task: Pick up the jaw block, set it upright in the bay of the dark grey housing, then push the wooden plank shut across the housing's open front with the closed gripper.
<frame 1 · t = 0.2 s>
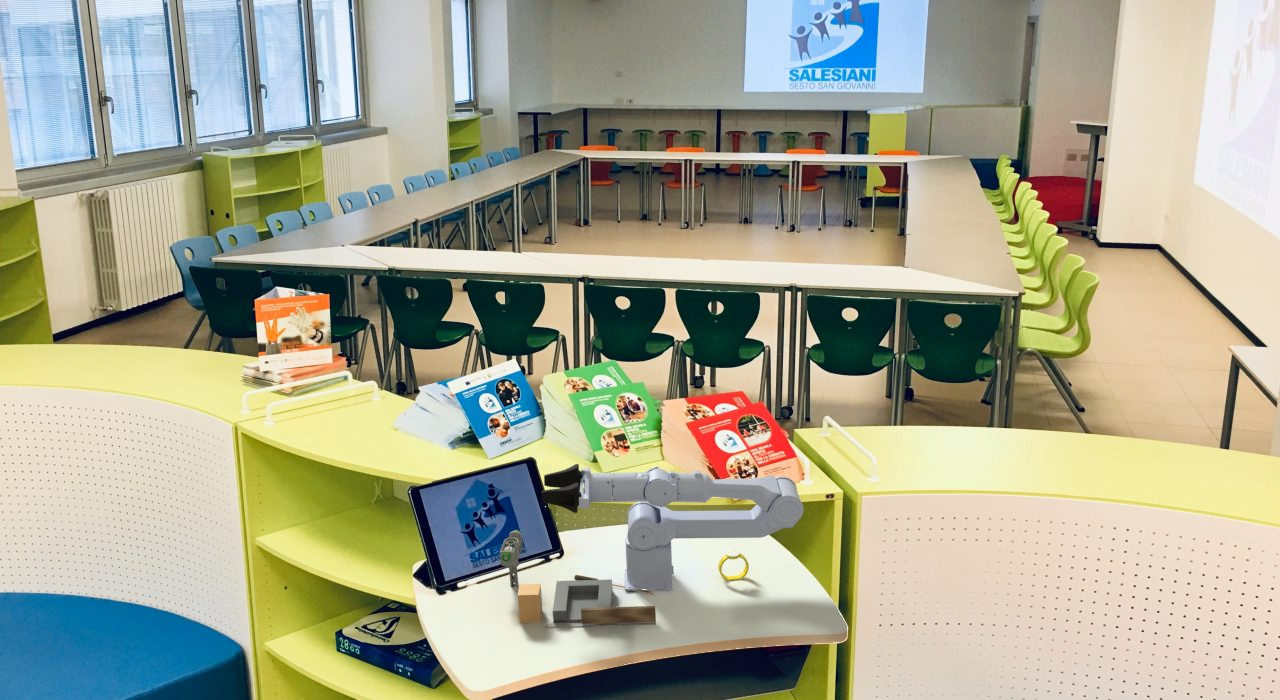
hand: (542, 488, 214), 21 cm above the table, tool horizontal, fingers open, 7 cm apart
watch: (733, 579, 221), on the table
wooden plank: (618, 615, 206), point 2 cm above the table, slide at 7.0 cm
housing: (583, 606, 213), on the table
mechanical component: (514, 585, 221), on the table
jaw block: (531, 616, 210), on the table
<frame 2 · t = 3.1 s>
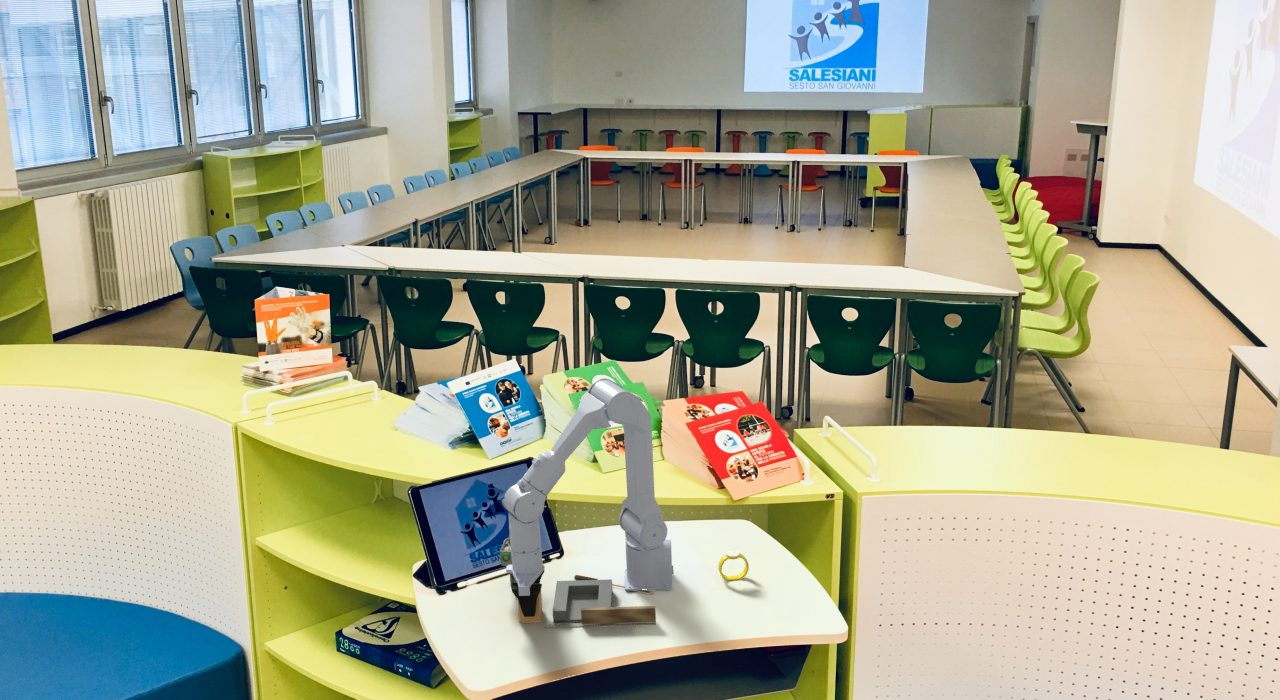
hand: (530, 609, 210), 2 cm above the table, tool pointing down, fingers closed on jaw block, 4 cm apart
jaw block: (531, 616, 210), on the table, touching gripper
everything else where it was.
when the fingers open (4 cm above the table, at t = 6.2 s): jaw block drops 1 cm, resting on housing.
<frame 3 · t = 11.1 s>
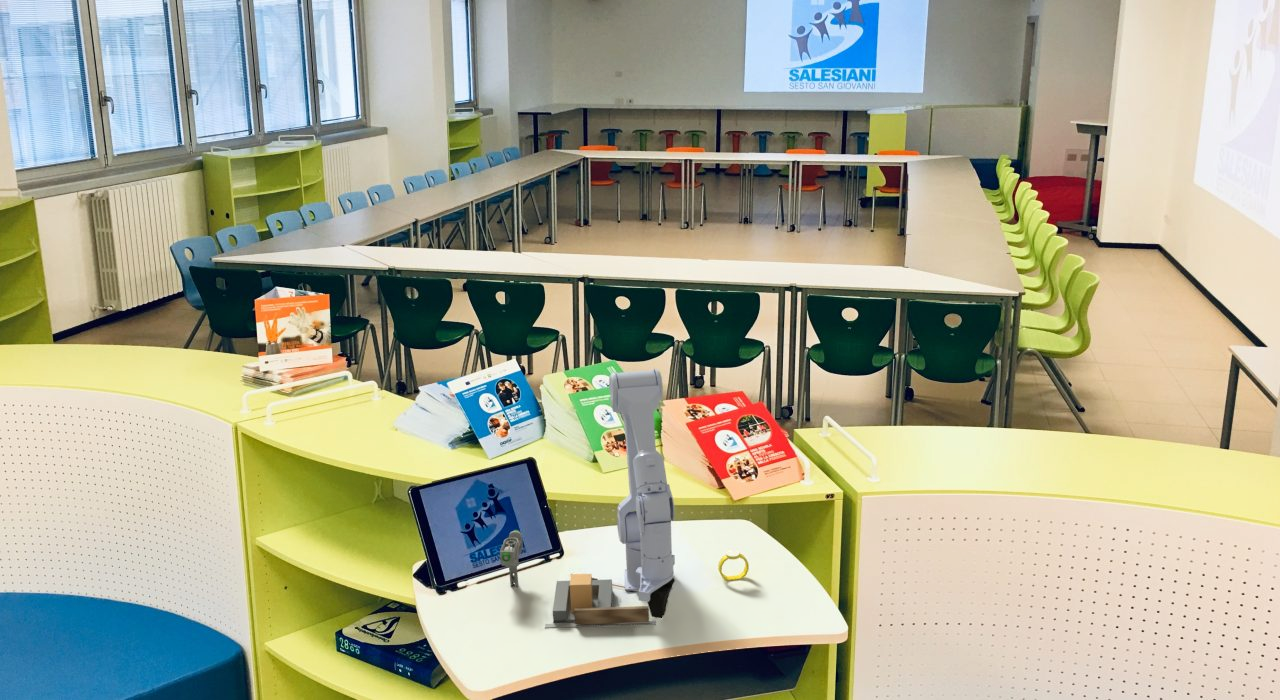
hand: (658, 615, 206), 2 cm above the table, tool pointing down, fingers closed
wooden plank: (611, 615, 206), point 2 cm above the table, slide at 5.7 cm, touching gripper
jaw block: (582, 606, 212), point 1 cm above the table, touching housing
everything else where it was.
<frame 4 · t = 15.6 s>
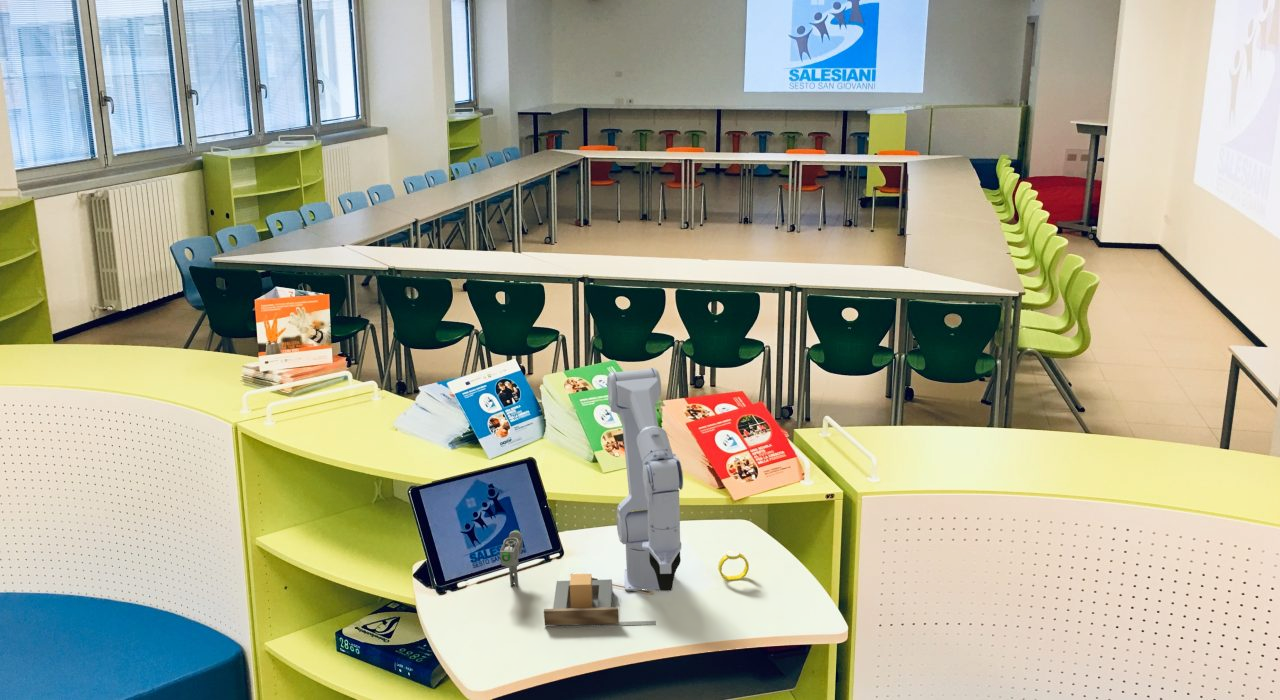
hand: (665, 588, 200), 9 cm above the table, tool pointing down, fingers closed
wooden plank: (581, 616, 206), point 2 cm above the table, slide at 0.0 cm
everything else where it was.
at the end: jaw block 0.2 cm from the target spot on the housing, point 0.6 cm above the housing's base; jaw block tilted 0°; wooden plank slide at 0.0 cm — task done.
